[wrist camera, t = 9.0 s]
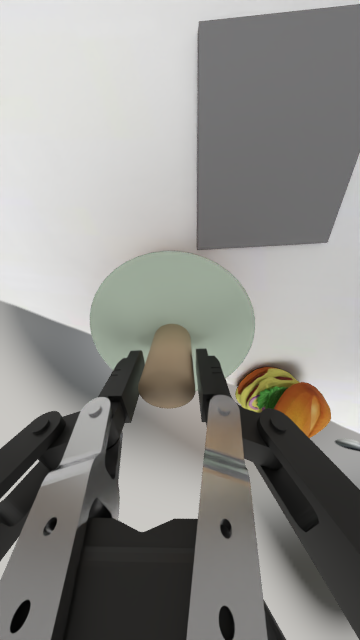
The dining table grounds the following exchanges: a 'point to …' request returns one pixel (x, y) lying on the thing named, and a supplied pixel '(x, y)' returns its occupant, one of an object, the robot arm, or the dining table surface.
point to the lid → (172, 321)
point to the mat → (276, 125)
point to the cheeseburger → (284, 398)
